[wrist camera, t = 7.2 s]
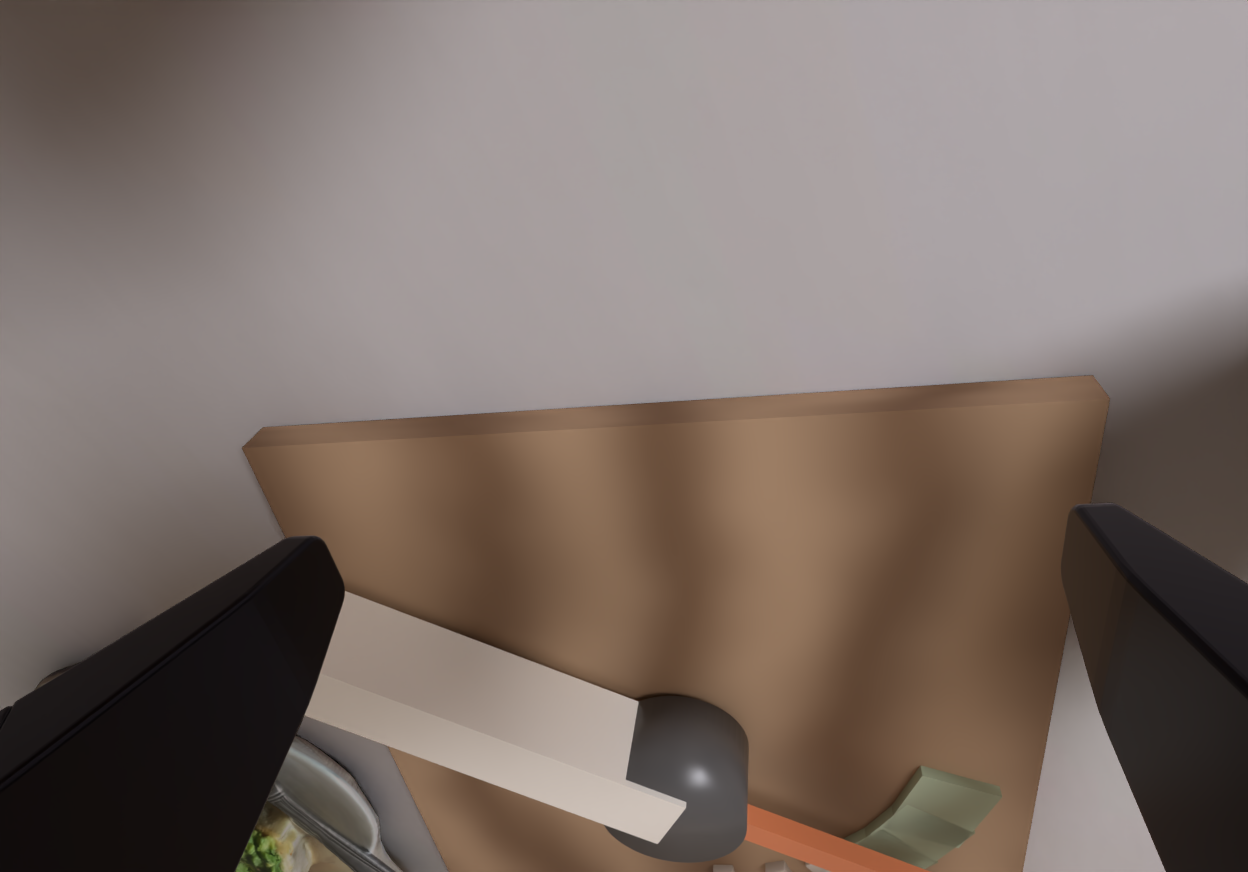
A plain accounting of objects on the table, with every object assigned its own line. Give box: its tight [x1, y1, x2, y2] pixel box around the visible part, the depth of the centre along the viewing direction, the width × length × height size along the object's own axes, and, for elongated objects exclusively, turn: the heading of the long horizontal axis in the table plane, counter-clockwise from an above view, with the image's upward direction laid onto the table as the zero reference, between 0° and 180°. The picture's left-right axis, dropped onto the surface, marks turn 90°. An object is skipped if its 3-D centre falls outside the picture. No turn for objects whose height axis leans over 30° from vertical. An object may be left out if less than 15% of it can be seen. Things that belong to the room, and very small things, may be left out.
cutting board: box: [242, 375, 1110, 872], centre depth 28 cm, size 24×25×2 cm
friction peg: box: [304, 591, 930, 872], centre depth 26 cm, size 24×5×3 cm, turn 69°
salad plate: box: [35, 666, 403, 872], centre depth 36 cm, size 19×18×5 cm
